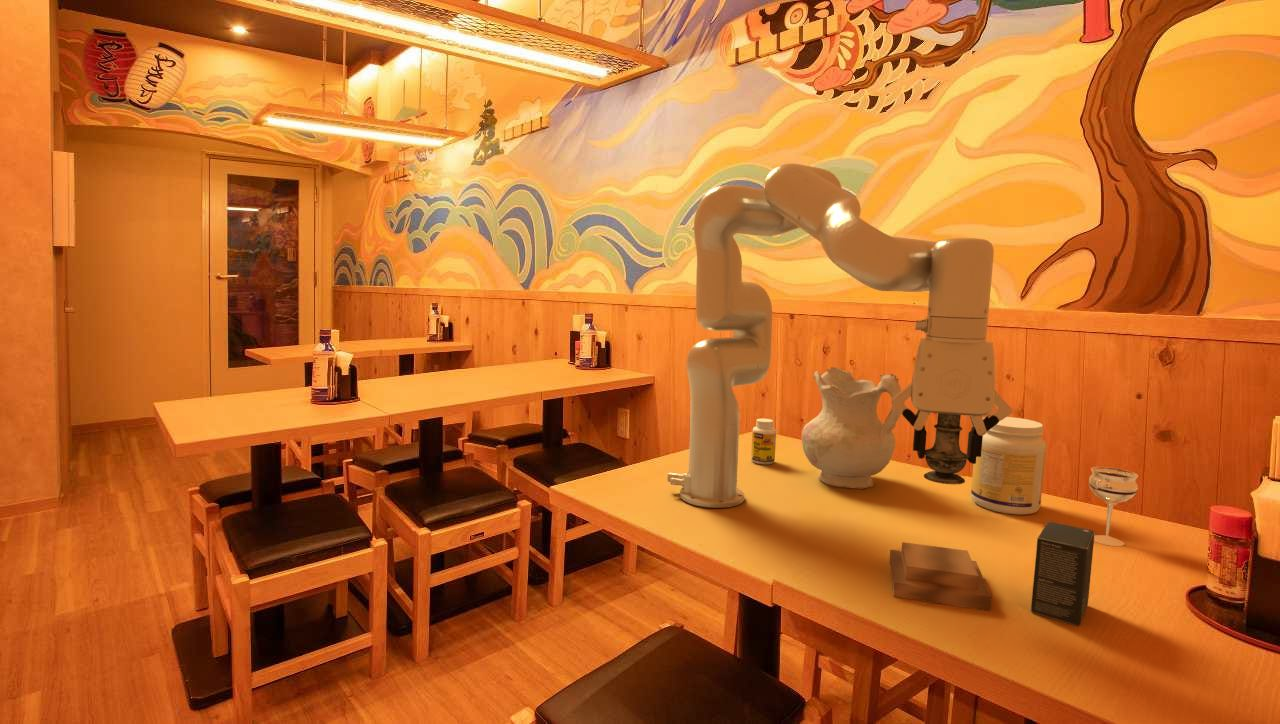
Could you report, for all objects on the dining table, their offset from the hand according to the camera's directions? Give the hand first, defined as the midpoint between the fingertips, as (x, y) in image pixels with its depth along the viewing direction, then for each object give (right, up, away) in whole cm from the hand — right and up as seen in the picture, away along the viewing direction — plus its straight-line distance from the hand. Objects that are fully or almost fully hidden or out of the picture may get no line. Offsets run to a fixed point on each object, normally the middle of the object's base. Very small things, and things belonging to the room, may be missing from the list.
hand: (945, 457), depth 93 cm
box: (+13, -20, -4) cm, 24 cm away
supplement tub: (+29, -15, +38) cm, 50 cm away
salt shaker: (0, -3, 0) cm, 3 cm away
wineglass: (+37, -17, +21) cm, 46 cm away
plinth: (0, -19, +2) cm, 19 cm away
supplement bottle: (-14, -11, +66) cm, 68 cm away
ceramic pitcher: (+3, -13, +51) cm, 53 cm away
